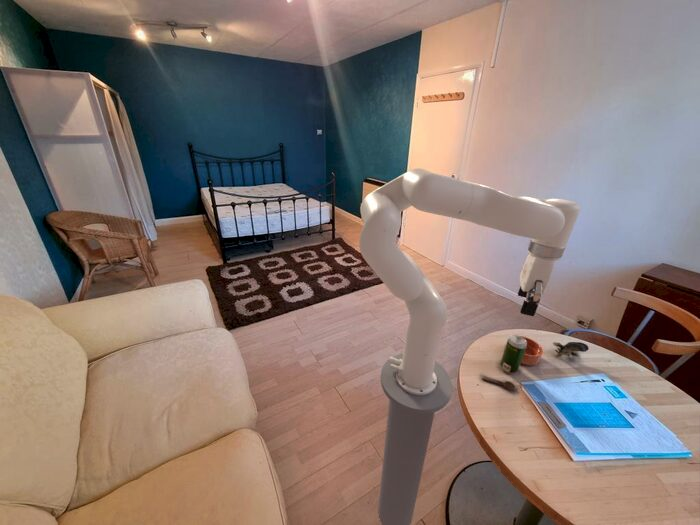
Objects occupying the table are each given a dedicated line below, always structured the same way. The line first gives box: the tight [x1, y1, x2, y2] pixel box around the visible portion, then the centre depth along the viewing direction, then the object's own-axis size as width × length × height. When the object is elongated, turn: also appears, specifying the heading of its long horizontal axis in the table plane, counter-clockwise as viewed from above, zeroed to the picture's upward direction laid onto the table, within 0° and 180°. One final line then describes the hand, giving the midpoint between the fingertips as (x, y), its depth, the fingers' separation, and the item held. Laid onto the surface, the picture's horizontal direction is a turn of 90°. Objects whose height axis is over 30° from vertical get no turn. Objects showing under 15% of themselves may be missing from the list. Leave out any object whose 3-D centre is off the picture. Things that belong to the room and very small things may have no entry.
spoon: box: [482, 375, 516, 392], centre depth 87 cm, size 9×3×1 cm, turn 64°
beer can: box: [499, 334, 527, 375], centre depth 90 cm, size 5×5×12 cm
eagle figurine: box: [552, 341, 590, 361], centre depth 97 cm, size 8×7×9 cm
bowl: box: [520, 335, 544, 366], centre depth 97 cm, size 10×10×4 cm
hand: (525, 305), depth 79 cm, fingers open, 9 cm apart
